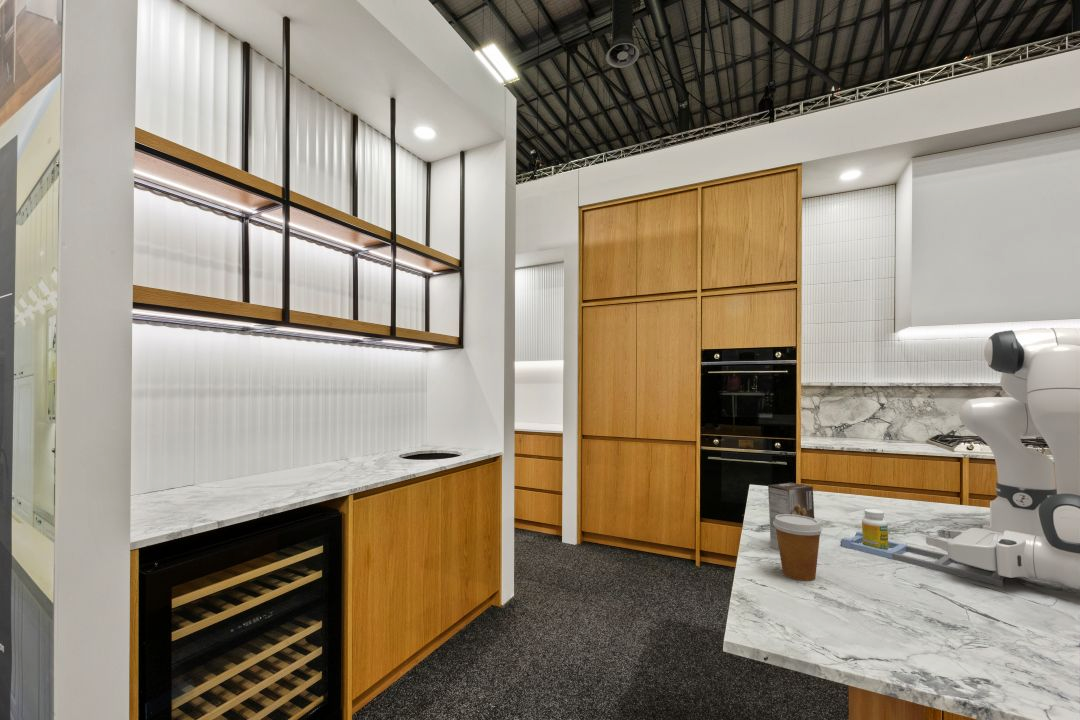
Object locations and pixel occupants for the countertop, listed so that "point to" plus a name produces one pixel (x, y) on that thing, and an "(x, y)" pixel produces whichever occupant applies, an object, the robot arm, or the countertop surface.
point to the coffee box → (788, 504)
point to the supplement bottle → (875, 529)
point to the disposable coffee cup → (798, 545)
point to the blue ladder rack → (938, 565)
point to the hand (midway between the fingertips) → (933, 536)
